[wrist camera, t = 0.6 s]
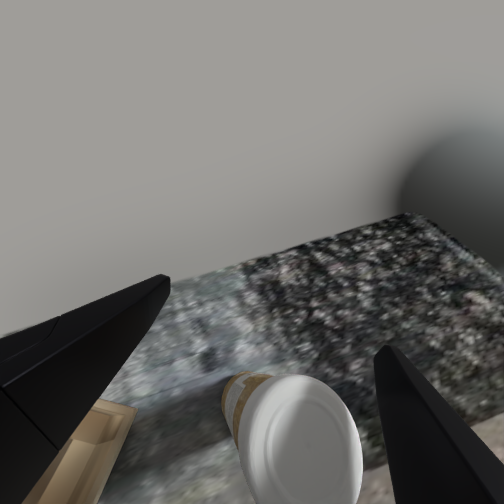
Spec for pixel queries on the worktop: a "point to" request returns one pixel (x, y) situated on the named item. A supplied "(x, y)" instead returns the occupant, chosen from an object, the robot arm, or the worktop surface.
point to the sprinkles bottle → (293, 439)
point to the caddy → (85, 457)
